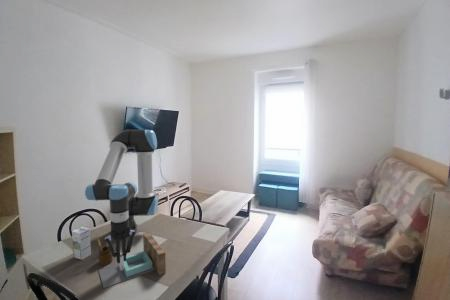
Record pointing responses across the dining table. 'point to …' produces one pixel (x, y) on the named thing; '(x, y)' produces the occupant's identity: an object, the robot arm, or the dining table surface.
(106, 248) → the utensil holder
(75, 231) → the syrup box
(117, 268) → the grey flat plate
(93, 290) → the dining table surface
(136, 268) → the socket frame
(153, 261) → the backstop wall
